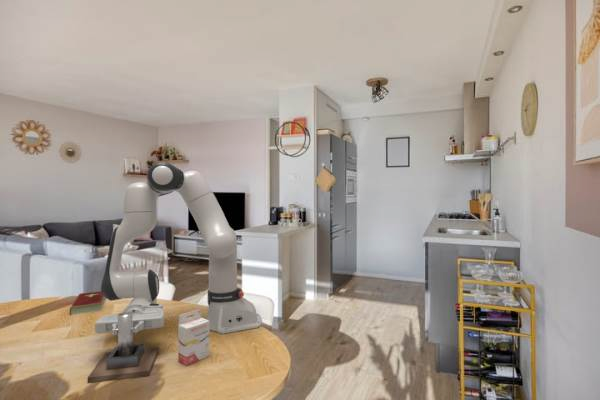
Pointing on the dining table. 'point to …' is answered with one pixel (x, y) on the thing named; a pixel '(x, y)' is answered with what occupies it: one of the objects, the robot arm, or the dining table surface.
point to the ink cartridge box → (192, 337)
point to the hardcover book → (87, 303)
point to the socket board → (123, 373)
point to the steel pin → (125, 334)
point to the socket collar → (125, 358)
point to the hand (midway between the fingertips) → (124, 331)
